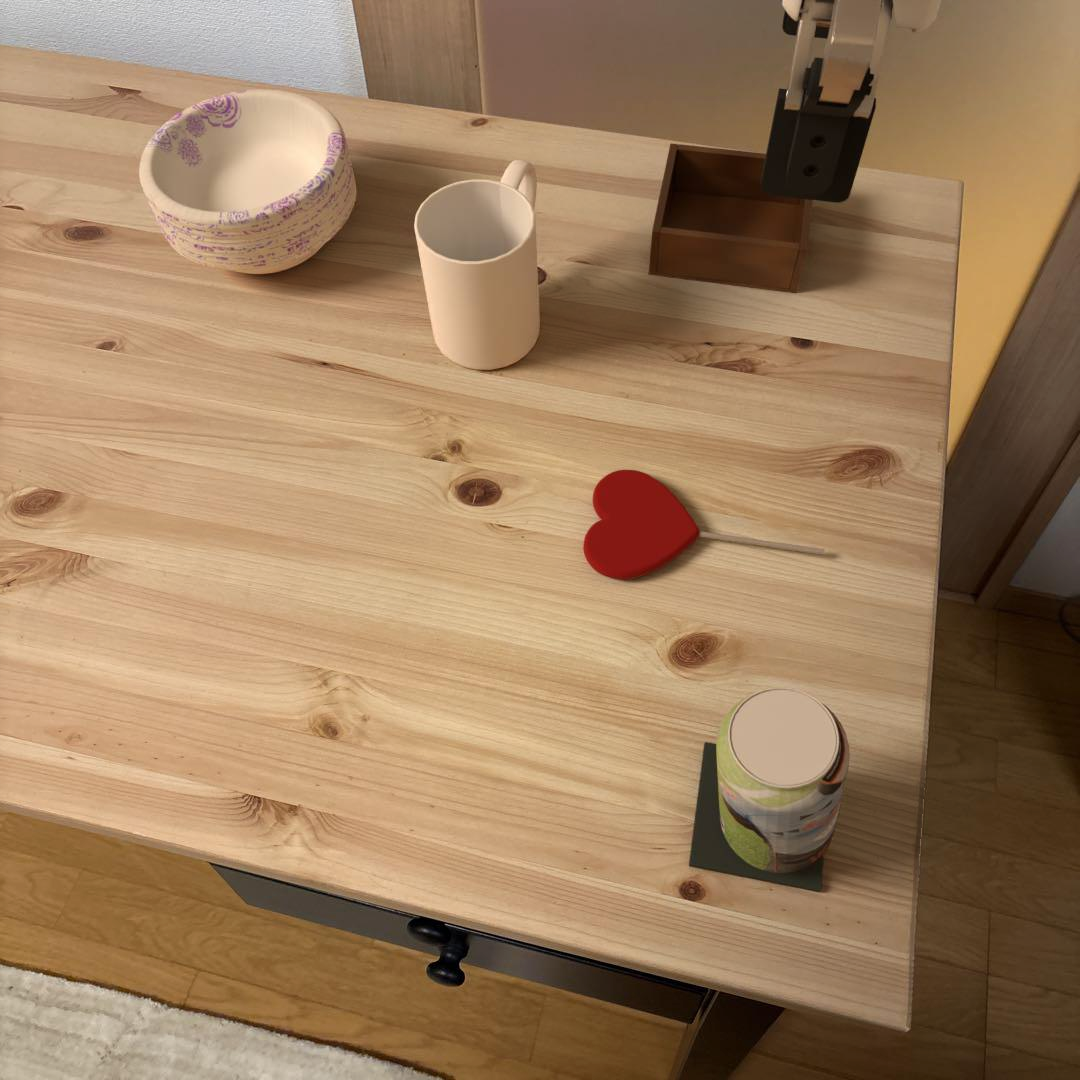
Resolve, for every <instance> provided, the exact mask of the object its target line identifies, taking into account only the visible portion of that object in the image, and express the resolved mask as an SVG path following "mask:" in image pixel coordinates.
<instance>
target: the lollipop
mask: <svg viewBox="0 0 1080 1080" xmlns="http://www.w3.org/2000/svg"><path fill="white" fill-rule="evenodd" d="M592 505H593V506H592V507H593V510H594V512H595V513H596V515H597V517H599V520H598V521H595V522H594V523H593V524H592V525H591V526H590V527H589V529H588V530H587V532H586V533H585V536H584V540H583V545H582V546H583V554H584V558H585V559H586V562H587V563H588V564H589V566H590V567H591V568H592V569H593V570H594V571H595V572H596V573H598V574H600V575H602V576H604V577H606V578H610V579H615V580H629V579H630V580H631V579H635V578H639V577H643V576H645V575H648V574H651V573H653V572H655V571H657V570H659V569H660V568H662V567H664V566H665V565H667V564H669V563H670V562H672V561H673V560H675V559H676V558H677V557H679V556H680V555H681V554H682V553H684V552H685V551H686V550H687V549H688V548H689V547H691V546H692V544H694V542H695V541H697V539H699V538H704V539H712V540H719V541H726V542H733V543H738V544H739V543H740V544H747V545H753V546H759V547H766V548H767V547H768V548H773V549H781V550H786V551H794V552H801V553H808V554H814V555H815V554H816V555H820V556H821V555H822V556H825V549H824V548H819V547H817V548H816V547H810V546H804V545H798V544H790V543H783V542H776V541H771V540H763V539H756V538H750V537H742V536H737V535H728V534H721V533H717V532H716V533H715V532H708V531H703V530H700V528H699V527H698V525H697V522H695V520H694V519H693V517H692V516H691V514H690V512H689V511H688V509H687V508H686V506H685V505H684V503H682V501H681V500H680V499H679V498H678V497H677V496H676V495H675V494H674V492H673V491H671V489H670V488H668V486H666V484H664V483H662V482H661V481H660V480H658V479H657V478H655V477H653V476H651V475H650V474H648V473H645V472H644V471H641V470H635V469H618V470H615V471H612V472H610V473H607V474H606V475H605V476H603V477H602V478H601V479H600V480H599V481H598V482H597V484H596V485H595V487H594V490H593V493H592Z"/></svg>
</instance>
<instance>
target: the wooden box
mask: <svg viewBox="0 0 1080 1080" xmlns="http://www.w3.org/2000/svg"><path fill="white" fill-rule="evenodd" d="M765 157H766V153H763V152H757V151H756V152H755V151H754V152H752V151H745V150H736V149H728V148H718V147H708V146H699V145H691V144H680V143H673V142H671V143H670V144H669V148H668V153H667V158H666V162H665V168H664V171H663V172H664V173H663V176H662V182H661V187H660V192H659V196H658V200H657V205H656V210H655V215H654V219H653V225H652V229H651V230H652V231H651V239H650V249H649V250H650V251H649V262H648V275H650V276H658V277H666V278H674V279H681V280H689V281H690V280H691V281H698V282H707V283H714V284H722V285H730V286H738V287H744V288H745V287H746V288H753V289H760V290H761V289H762V290H769V291H776V292H777V291H779V292H784V293H785V292H786V293H793V294H797V293H798V291H799V286H800V282H801V278H802V274H803V271H804V268H805V263H806V259H807V256H808V253H809V245H810V234H811V227H812V226H811V225H812V224H811V223H812V216H813V215H812V214H813V206H814V205H813V204H814V200H807V199H798V198H789V197H781V196H772V195H767V194H765V193H763V192H762V190H761V178H762V172H763V167H764V162H765Z"/></svg>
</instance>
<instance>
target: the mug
mask: <svg viewBox="0 0 1080 1080" xmlns="http://www.w3.org/2000/svg"><path fill="white" fill-rule="evenodd" d="M537 185H538V184H537V172H536V168H535V166H534V165H533V164H532V163H531V162H529V161H526V160H522V159H514V160H513V161H511V162H510V163H509V165H508V166H507V168H506V169H505V170H504V173H503V174H502V177H501V180H500V181H497V180H492V179H466V180H461V181H456V182H453V183H450V184H448V185H445V186H442V187H440V188H439V189H438V190H436V191H434V192H432V193H431V194H429V196H428V197H427V198H426V199H425V200H424V201H423V202H422V203H421V204H420V206H419V208H418V209H417V211H416V213H415V216H414V225H413V227H414V233H415V239H416V244H417V250H418V256H419V261H420V267H421V273H422V278H423V279H422V280H423V284H424V290H425V295H426V296H425V297H426V301H427V306H428V312H429V313H428V314H429V318H430V323H431V324H430V325H431V330H432V334H433V338H434V342H435V344H436V346H437V348H438V349H439V351H440V352H441V353H442V354H443V356H445V357H446V358H447V359H448V360H450V361H451V362H452V363H454V364H456V365H459V366H461V367H463V368H467V369H470V370H471V369H472V370H476V371H493V370H497V369H502V368H506V367H508V366H511V365H513V364H515V363H517V362H519V361H520V360H522V359H523V358H524V357H525V356H527V355H528V354H529V352H530V351H531V350H532V349H533V348H534V346H535V345H536V343H537V340H538V338H539V335H540V330H541V328H540V327H541V319H540V318H541V317H540V314H541V313H540V293H539V291H540V290H539V274H538V273H539V271H538V269H539V268H538V249H537V248H538V247H537V245H538V244H537V225H536V212H535V208H536V207H535V206H536V201H537V200H536V199H537V187H538V186H537Z"/></svg>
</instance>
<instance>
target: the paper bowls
mask: <svg viewBox="0 0 1080 1080" xmlns="http://www.w3.org/2000/svg"><path fill="white" fill-rule="evenodd" d="M348 147H349V146H348V141H347V138H346V134H345V132H344V128H343V126H342V124H341V123H340V121H339V120H338V119H337V117H336V116H335V115H334V114H333V113H332V112H331V111H330V109H328V108H327V107H326V106H325V105H322V103H320V102H319V101H316V100H315V99H313V98H310V97H308V96H307V95H306V96H305V95H304V94H301V93H298V92H293V91H288V90H280V89H269V88H255V89H244V90H237V91H230V92H226V93H222V94H219V95H216V96H215V95H214V96H212V97H210V98H206V99H203V100H201V101H199V102H197V103H195V104H193V105H191V106H189V107H187V108H185V109H183V110H181V111H180V112H178V113H176V114H175V115H174V116H172V117H171V118H169V119H168V120H167V121H166V122H165V123H163V124H162V125H161V126H160V127H159V128H158V130H156V132H155V133H154V134H153V135H152V136H151V138H150V139H149V141H148V142H147V143H146V145H145V147H144V149H143V152H142V154H141V157H140V162H139V167H138V168H139V171H138V173H139V174H138V176H139V182H140V186H141V189H142V190H143V193H144V195H145V198H146V199H147V203H148V204H149V206H150V209H151V211H152V213H153V215H154V217H155V220H156V222H157V224H158V226H159V228H160V230H161V232H162V234H163V236H164V237H165V239H166V240H167V242H168V243H169V245H170V247H172V249H174V250H175V252H177V253H178V254H179V255H180V256H182V258H183V257H184V258H185V259H187V260H189V261H191V262H193V263H195V264H199V265H200V266H204V267H208V268H213V269H218V270H223V271H233V272H237V273H242V274H249V275H265V274H266V275H267V274H275V273H279V272H284V271H286V270H288V269H291V268H294V267H296V266H299V265H300V264H302V263H304V262H305V261H307V260H309V259H310V258H311V257H313V256H314V255H315V254H316V253H317V252H318V251H320V249H322V248H323V246H324V245H325V244H327V242H329V241H330V240H331V239H333V237H334V236H336V234H337V233H338V232H339V231H340V230H341V229H342V228H343V227H344V225H345V224H346V223H347V222H348V220H349V217H350V216H351V213H352V211H353V209H354V207H355V204H356V200H357V185H356V178H355V174H354V173H355V172H354V169H353V164H352V161H351V157H350V151H349V149H348Z"/></svg>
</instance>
